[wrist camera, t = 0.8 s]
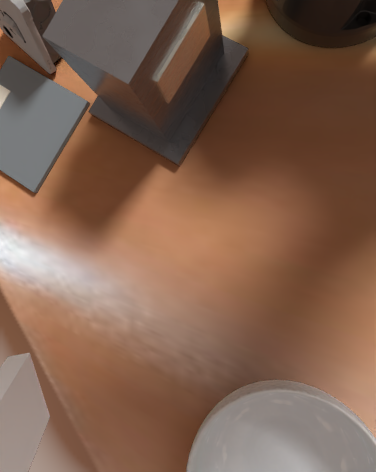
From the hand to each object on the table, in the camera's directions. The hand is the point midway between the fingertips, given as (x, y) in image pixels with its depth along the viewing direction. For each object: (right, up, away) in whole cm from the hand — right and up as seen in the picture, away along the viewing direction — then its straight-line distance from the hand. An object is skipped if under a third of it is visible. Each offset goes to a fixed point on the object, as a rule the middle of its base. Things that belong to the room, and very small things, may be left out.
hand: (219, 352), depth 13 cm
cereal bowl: (+8, -17, +23) cm, 29 cm away
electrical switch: (-19, +28, +30) cm, 45 cm away
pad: (-20, +17, +30) cm, 40 cm away
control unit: (-3, +21, +27) cm, 34 cm away
